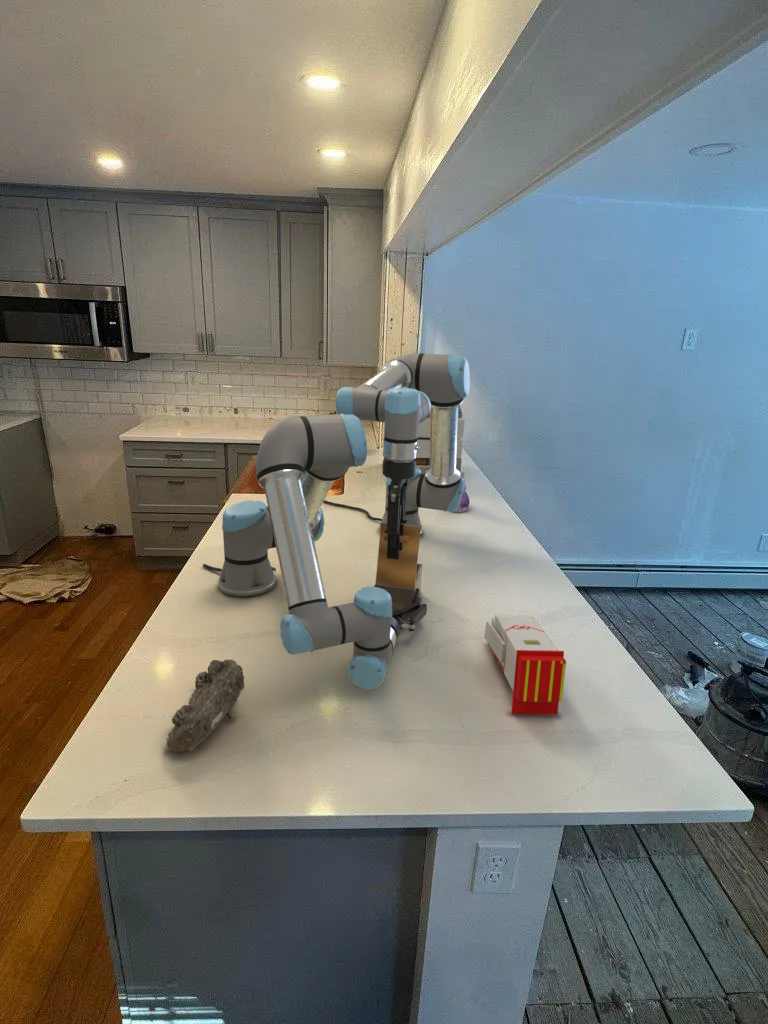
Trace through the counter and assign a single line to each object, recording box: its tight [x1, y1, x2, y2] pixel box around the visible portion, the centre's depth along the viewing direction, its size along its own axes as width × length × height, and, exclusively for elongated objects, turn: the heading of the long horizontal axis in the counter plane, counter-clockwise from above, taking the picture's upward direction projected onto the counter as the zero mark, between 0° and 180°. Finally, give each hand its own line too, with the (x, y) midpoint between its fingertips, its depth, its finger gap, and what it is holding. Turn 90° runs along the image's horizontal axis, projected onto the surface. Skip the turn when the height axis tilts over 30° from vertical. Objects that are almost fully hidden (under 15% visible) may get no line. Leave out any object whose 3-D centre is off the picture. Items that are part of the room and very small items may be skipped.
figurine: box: [453, 471, 470, 513], centre depth 225 cm, size 9×10×15 cm
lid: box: [375, 521, 421, 589], centre depth 138 cm, size 16×10×8 cm
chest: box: [375, 563, 423, 621], centre depth 151 cm, size 15×10×9 cm, turn 169°
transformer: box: [383, 404, 465, 475], centre depth 268 cm, size 34×33×41 cm
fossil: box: [166, 658, 245, 754], centre depth 106 cm, size 22×10×15 cm
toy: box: [484, 614, 567, 716], centre depth 124 cm, size 12×13×30 cm
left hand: (397, 590), depth 147 cm, fingers closed on chest, 10 cm apart
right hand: (394, 553), depth 135 cm, fingers open, 5 cm apart
